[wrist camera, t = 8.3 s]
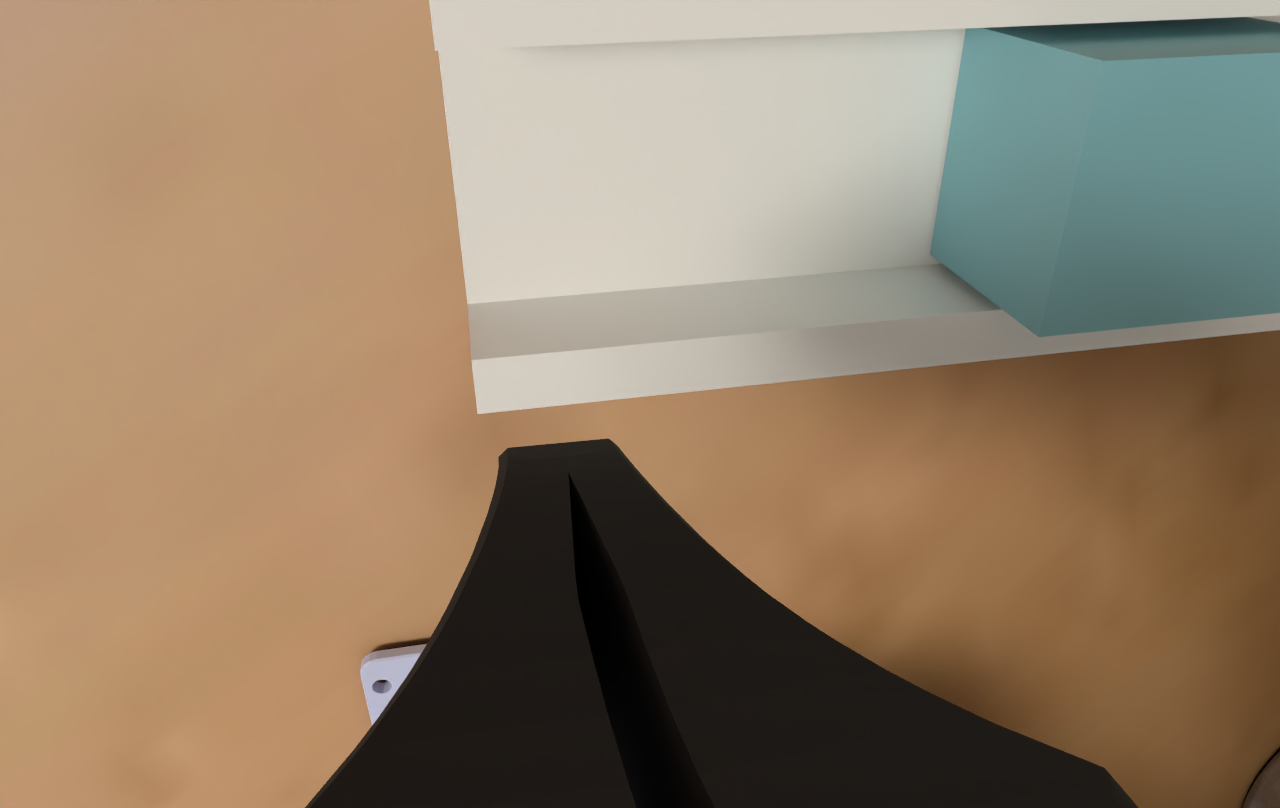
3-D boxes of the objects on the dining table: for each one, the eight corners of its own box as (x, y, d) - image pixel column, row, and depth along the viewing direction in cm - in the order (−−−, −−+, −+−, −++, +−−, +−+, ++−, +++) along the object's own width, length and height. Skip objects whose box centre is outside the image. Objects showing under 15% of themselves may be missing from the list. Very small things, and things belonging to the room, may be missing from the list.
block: (930, 254, 21) (1039, 337, 17) (966, 23, 19) (1103, 60, 15) (1159, 235, 22) (1310, 309, 18) (1223, 13, 20) (1414, 45, 16)
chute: (472, 338, 21) (477, 414, 18) (427, -48, 17) (425, -32, 14) (1232, 268, 24) (1343, 323, 21) (1346, -71, 20) (1504, -62, 17)
